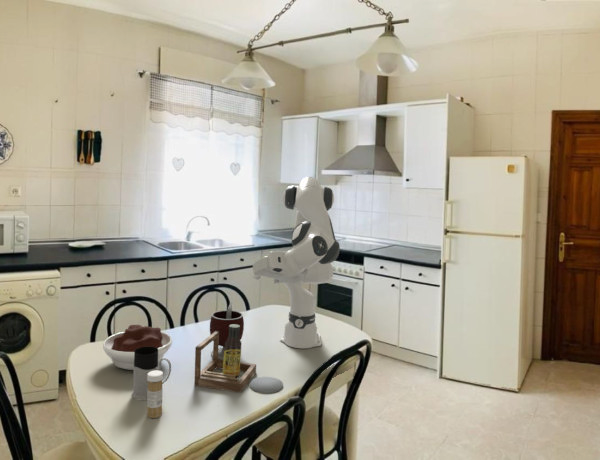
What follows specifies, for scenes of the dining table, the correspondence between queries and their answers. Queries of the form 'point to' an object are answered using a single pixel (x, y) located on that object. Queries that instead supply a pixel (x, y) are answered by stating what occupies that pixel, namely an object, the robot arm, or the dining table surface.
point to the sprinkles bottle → (154, 394)
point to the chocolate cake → (135, 344)
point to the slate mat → (266, 384)
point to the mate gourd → (225, 326)
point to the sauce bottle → (232, 352)
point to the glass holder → (145, 370)
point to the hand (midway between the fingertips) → (265, 279)
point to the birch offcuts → (220, 376)
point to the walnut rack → (218, 363)
